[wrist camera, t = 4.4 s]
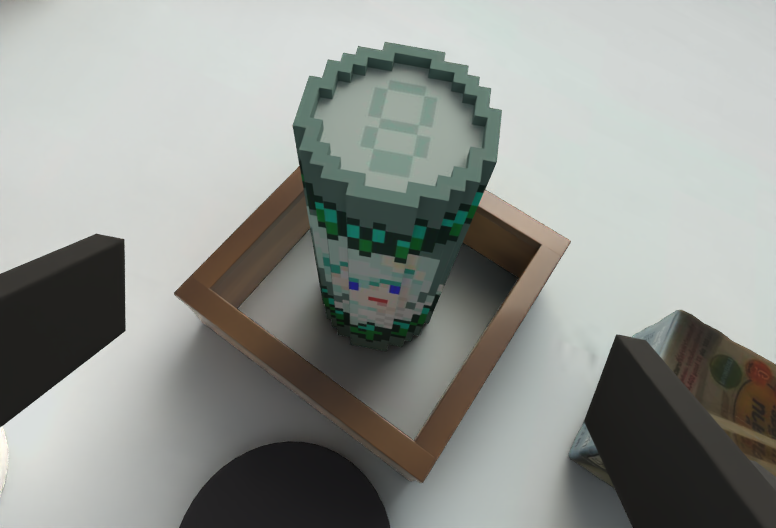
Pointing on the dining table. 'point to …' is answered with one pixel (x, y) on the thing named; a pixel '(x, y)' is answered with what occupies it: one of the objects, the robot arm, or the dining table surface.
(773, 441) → the beverage carton
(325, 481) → the coaster
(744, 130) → the dining table surface
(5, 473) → the jar
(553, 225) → the dining table surface
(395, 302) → the can
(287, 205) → the wooden square frame
